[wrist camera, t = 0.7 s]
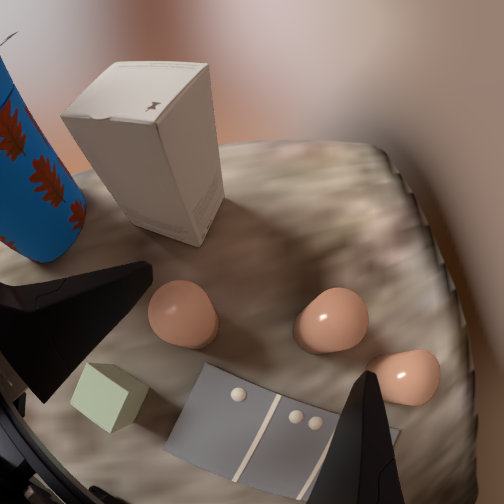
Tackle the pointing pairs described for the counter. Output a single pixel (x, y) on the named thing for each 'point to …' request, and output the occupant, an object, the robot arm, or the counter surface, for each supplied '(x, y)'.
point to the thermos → (33, 184)
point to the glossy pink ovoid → (183, 315)
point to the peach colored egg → (407, 376)
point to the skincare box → (154, 144)
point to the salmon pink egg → (331, 322)
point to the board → (253, 434)
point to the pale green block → (108, 396)
